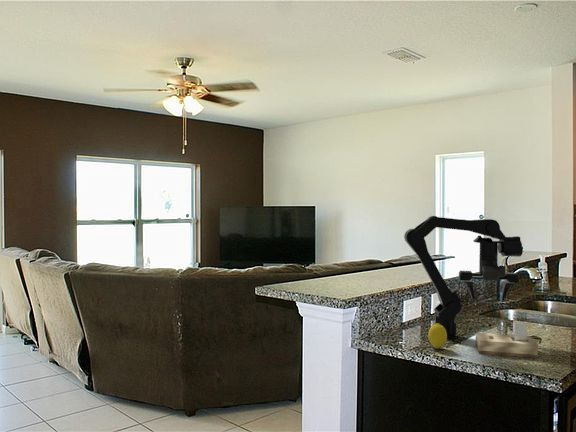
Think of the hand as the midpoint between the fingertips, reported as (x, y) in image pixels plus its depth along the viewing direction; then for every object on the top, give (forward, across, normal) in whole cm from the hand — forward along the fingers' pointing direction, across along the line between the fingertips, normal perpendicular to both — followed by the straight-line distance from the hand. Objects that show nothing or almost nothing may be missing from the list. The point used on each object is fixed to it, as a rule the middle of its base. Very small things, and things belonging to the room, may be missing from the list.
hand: (487, 301), depth 170 cm
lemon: (+12, -17, -20) cm, 29 cm away
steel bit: (+11, +7, -17) cm, 21 cm away
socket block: (+12, +3, -17) cm, 21 cm away
